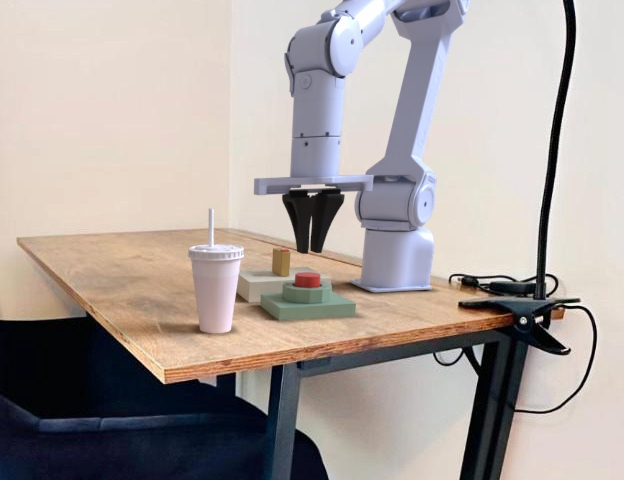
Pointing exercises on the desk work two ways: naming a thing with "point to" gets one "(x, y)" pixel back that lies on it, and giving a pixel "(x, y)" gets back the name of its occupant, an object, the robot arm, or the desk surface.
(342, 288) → the desk surface
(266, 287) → the plate
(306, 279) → the lock button
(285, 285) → the green square plate
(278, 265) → the thumbturn
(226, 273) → the smoothie
